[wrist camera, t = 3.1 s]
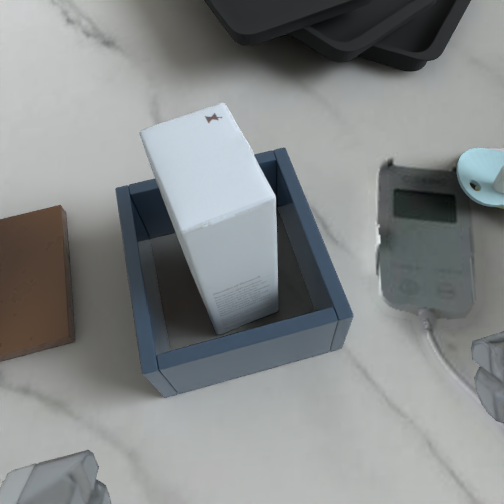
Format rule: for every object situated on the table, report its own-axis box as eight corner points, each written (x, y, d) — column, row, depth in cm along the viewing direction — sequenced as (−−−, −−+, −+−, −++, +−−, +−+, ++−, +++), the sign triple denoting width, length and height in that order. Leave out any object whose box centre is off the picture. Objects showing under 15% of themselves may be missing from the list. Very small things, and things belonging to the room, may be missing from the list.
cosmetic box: (185, 259, 31) (135, 126, 20) (244, 236, 31) (226, 96, 21) (216, 340, 28) (177, 234, 17) (281, 314, 28) (281, 195, 18)
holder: (164, 398, 26) (141, 374, 22) (137, 232, 32) (114, 187, 28) (342, 348, 27) (354, 316, 23) (284, 195, 33) (285, 146, 28)
